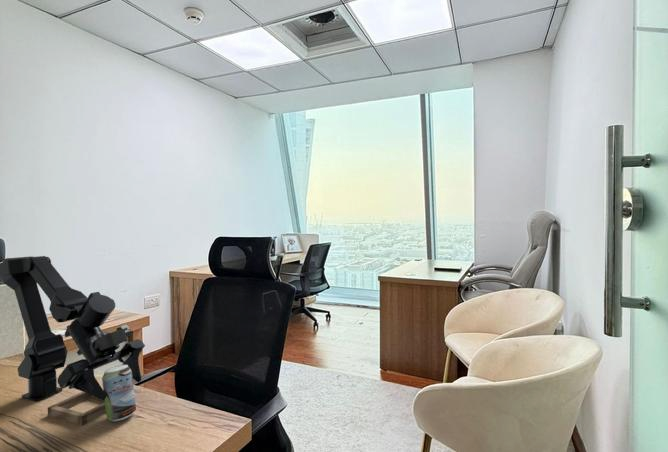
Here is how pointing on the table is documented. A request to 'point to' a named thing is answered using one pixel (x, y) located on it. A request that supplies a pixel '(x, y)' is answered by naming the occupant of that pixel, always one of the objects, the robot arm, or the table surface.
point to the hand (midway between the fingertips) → (123, 389)
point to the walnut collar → (72, 416)
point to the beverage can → (118, 392)
